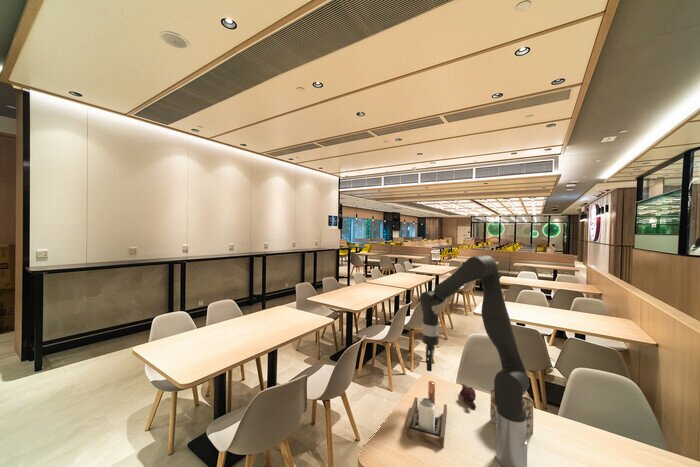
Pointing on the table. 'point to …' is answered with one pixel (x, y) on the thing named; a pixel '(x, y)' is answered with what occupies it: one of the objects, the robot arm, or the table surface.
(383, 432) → the table surface
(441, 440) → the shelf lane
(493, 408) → the decorative jar
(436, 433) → the pull frame
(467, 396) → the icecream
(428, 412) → the can
